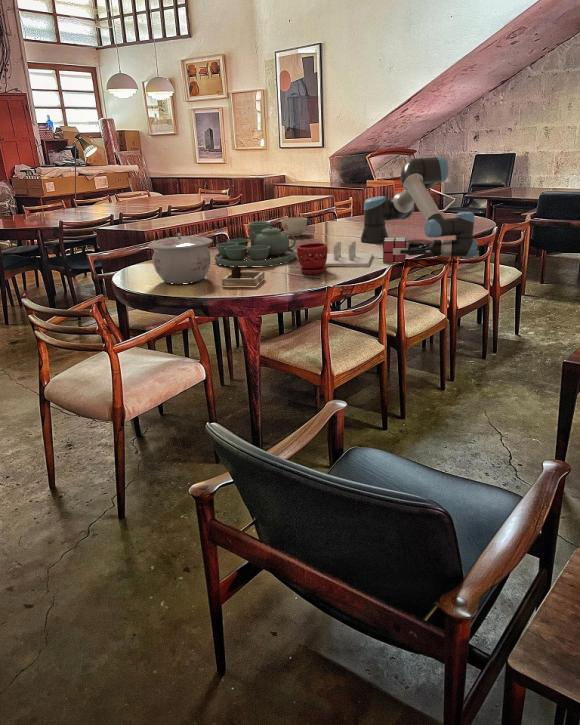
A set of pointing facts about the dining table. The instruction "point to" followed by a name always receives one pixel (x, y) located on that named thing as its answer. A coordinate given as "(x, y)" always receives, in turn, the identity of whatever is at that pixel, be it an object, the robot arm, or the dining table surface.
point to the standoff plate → (348, 257)
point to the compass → (236, 272)
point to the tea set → (257, 247)
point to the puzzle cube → (388, 249)
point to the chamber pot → (181, 258)
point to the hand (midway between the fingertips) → (393, 248)
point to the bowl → (294, 225)
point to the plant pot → (312, 257)
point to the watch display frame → (255, 276)
